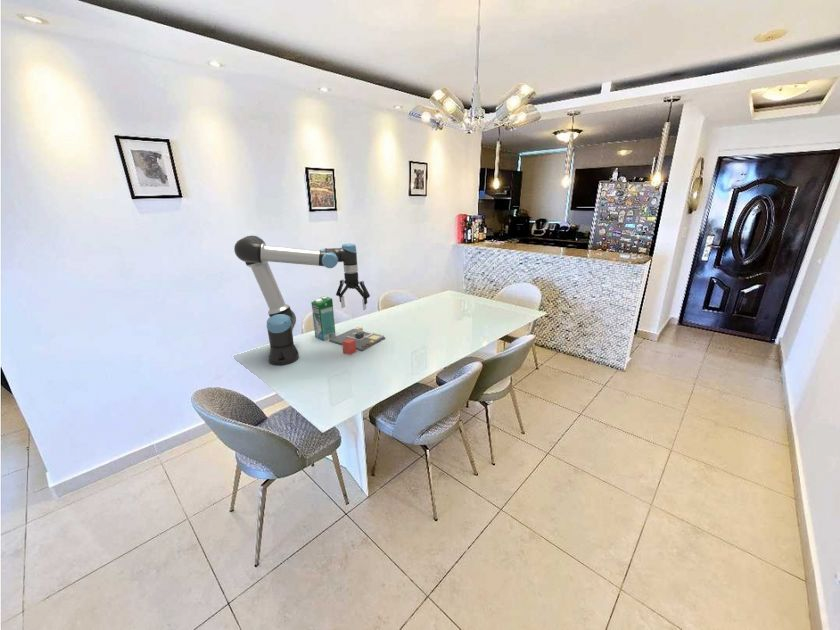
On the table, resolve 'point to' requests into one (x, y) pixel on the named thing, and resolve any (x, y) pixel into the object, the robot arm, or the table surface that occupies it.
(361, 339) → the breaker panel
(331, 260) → the robot arm
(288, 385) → the table surface
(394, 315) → the table surface
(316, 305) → the milk carton
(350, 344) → the red rectangular block
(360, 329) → the cream orange-banded box
